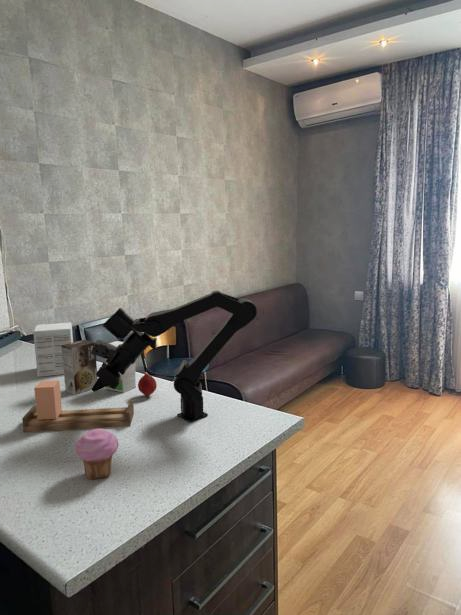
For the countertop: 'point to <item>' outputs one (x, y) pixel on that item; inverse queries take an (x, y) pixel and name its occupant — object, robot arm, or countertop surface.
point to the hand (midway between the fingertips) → (92, 390)
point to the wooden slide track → (80, 419)
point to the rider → (48, 400)
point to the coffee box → (79, 366)
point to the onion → (147, 384)
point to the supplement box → (51, 347)
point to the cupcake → (97, 452)
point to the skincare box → (125, 376)
